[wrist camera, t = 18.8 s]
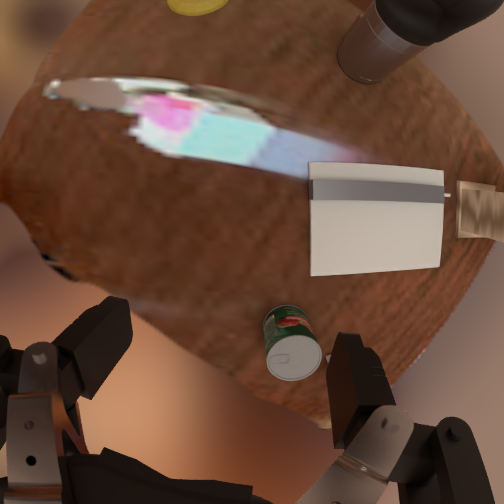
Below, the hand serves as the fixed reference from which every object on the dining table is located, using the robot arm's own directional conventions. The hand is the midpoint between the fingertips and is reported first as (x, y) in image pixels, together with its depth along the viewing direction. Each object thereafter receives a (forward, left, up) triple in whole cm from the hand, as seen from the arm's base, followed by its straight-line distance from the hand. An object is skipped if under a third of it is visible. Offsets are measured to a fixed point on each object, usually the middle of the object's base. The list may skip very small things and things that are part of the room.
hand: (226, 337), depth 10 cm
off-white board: (0, +24, -35) cm, 43 cm away
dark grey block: (-3, +22, -33) cm, 40 cm away
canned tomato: (+18, +7, -36) cm, 40 cm away
